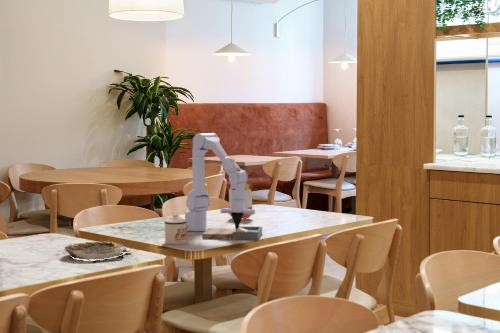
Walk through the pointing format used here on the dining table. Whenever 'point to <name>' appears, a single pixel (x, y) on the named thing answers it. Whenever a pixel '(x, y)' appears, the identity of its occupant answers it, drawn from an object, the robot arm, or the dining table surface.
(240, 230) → the cream tile
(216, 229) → the walnut board
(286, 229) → the dining table surface
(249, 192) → the french fries container
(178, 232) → the teacup with lid
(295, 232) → the dining table surface
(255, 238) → the tray
